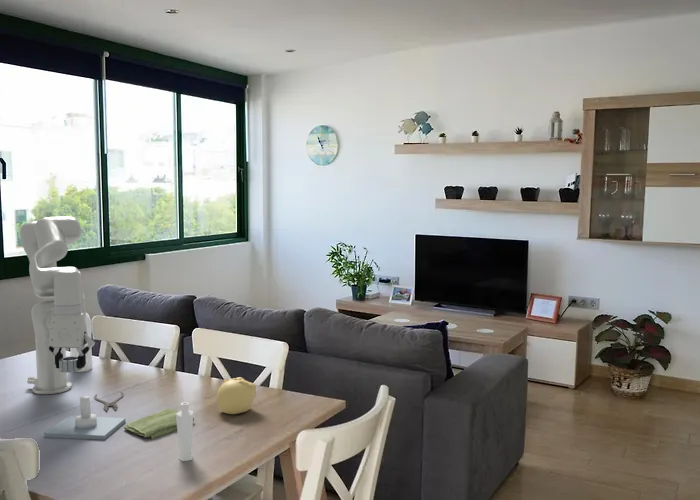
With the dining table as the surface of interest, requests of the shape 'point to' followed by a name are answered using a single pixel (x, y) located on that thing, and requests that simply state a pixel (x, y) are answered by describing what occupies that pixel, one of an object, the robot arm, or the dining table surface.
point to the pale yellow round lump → (235, 395)
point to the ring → (68, 364)
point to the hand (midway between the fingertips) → (70, 366)
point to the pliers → (107, 405)
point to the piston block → (85, 425)
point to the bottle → (89, 354)
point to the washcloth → (155, 424)
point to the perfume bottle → (185, 432)
